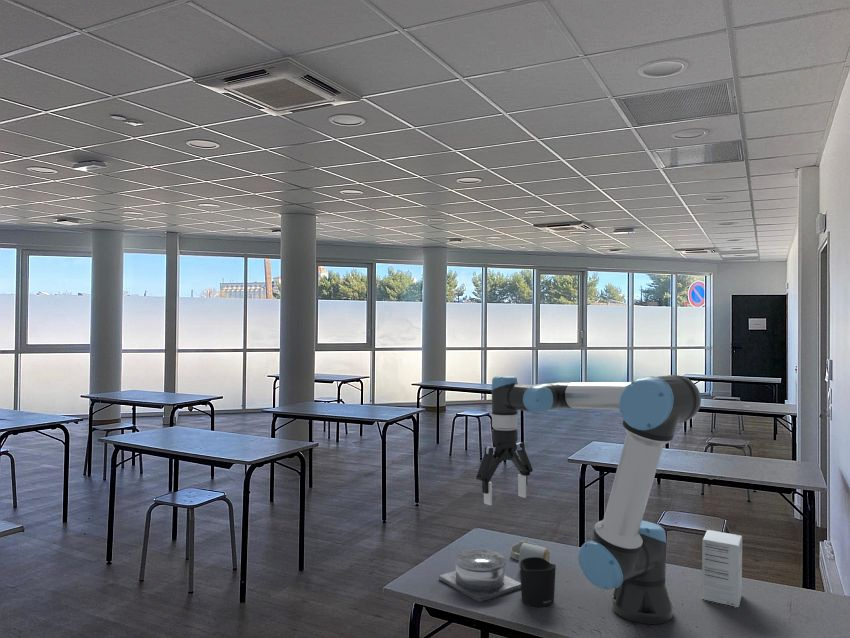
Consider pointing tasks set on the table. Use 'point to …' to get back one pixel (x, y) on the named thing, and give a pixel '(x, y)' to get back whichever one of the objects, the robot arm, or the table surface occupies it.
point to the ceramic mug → (533, 552)
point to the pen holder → (537, 581)
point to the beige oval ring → (518, 549)
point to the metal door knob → (480, 575)
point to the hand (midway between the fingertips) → (505, 500)
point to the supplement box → (722, 567)
